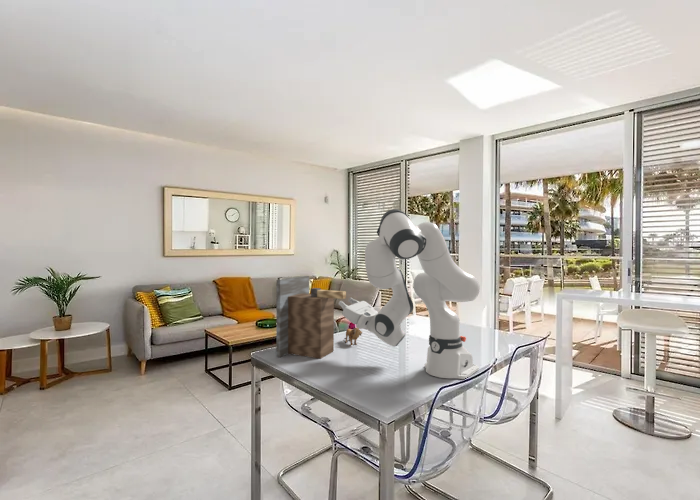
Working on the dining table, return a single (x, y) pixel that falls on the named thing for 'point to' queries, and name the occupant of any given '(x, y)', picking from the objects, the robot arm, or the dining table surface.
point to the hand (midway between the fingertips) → (344, 300)
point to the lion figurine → (353, 335)
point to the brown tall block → (303, 320)
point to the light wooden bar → (328, 293)
